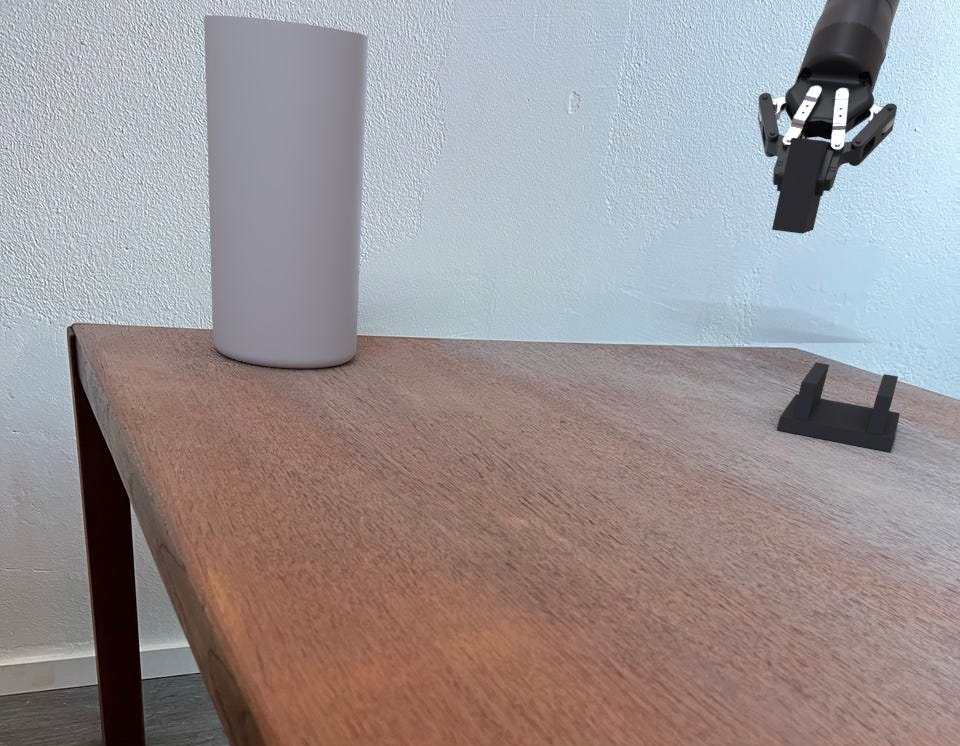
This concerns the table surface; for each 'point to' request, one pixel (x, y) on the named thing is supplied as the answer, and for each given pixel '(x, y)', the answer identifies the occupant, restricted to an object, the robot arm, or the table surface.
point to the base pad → (841, 414)
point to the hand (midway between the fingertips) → (800, 186)
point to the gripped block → (800, 186)
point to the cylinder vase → (285, 189)
